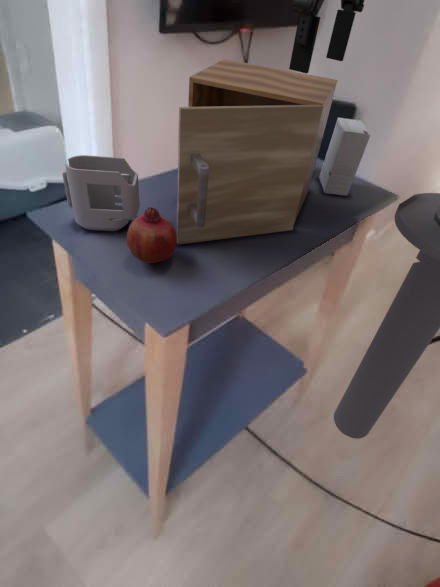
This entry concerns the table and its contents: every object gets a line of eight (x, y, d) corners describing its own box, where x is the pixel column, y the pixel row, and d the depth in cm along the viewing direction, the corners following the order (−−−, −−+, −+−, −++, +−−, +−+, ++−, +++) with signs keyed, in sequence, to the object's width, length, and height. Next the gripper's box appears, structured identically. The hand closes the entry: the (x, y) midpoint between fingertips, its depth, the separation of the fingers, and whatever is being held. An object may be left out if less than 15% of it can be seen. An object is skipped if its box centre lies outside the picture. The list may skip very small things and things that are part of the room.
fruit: (161, 241, 71) (160, 191, 65) (185, 264, 67) (187, 213, 60) (120, 254, 67) (115, 202, 61) (143, 280, 63) (140, 227, 56)
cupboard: (292, 227, 79) (323, 103, 63) (185, 199, 84) (189, 76, 68) (308, 190, 92) (337, 79, 76) (215, 167, 97) (224, 58, 81)
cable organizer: (137, 235, 72) (133, 173, 64) (68, 231, 71) (55, 168, 63) (141, 216, 77) (138, 156, 69) (76, 212, 76) (66, 151, 68)
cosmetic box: (318, 178, 97) (335, 116, 87) (342, 180, 98) (361, 119, 88) (324, 194, 91) (343, 129, 81) (349, 197, 91) (372, 132, 82)
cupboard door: (305, 244, 74) (341, 117, 59) (185, 261, 67) (191, 121, 52) (290, 227, 79) (320, 104, 63) (176, 241, 71) (178, 106, 56)
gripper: (368, -123, 55) (326, 50, 69) (288, -168, 39) (255, 70, 53) (421, -120, 53) (367, 60, 67) (360, -168, 36) (305, 83, 50)
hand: (317, 65), depth 60 cm, fingers open, 13 cm apart
